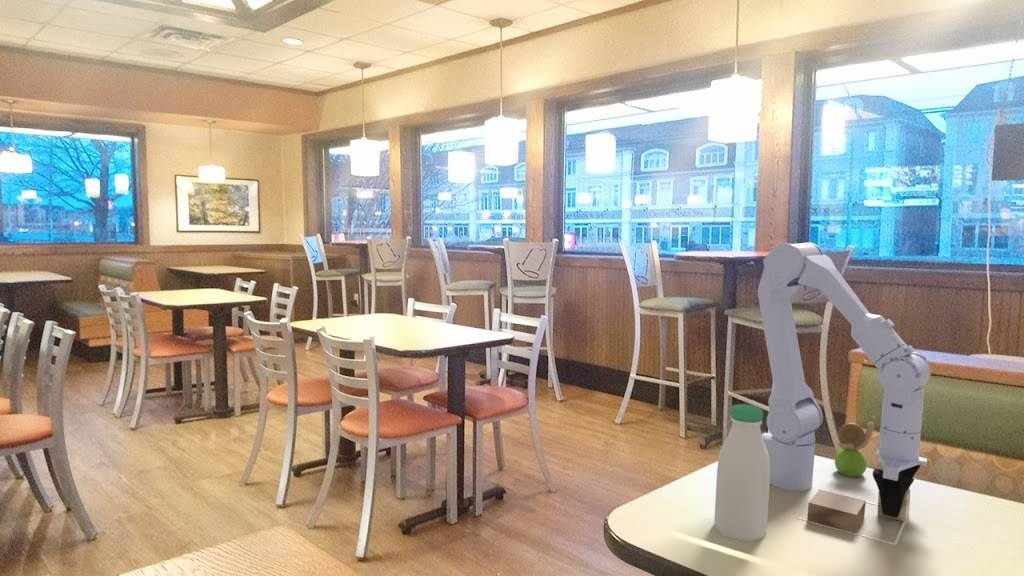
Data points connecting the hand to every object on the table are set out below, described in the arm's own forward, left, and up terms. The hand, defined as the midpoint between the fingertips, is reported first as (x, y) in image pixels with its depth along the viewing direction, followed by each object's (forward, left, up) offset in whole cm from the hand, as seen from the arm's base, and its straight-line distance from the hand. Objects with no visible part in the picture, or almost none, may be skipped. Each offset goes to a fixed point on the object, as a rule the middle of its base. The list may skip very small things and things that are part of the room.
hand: (893, 508), depth 113 cm
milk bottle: (-18, -21, -2) cm, 28 cm away
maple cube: (0, 0, -1) cm, 1 cm away
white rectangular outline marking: (-5, -4, -2) cm, 7 cm away
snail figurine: (-9, +15, -2) cm, 18 cm away
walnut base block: (-7, -8, -1) cm, 11 cm away
